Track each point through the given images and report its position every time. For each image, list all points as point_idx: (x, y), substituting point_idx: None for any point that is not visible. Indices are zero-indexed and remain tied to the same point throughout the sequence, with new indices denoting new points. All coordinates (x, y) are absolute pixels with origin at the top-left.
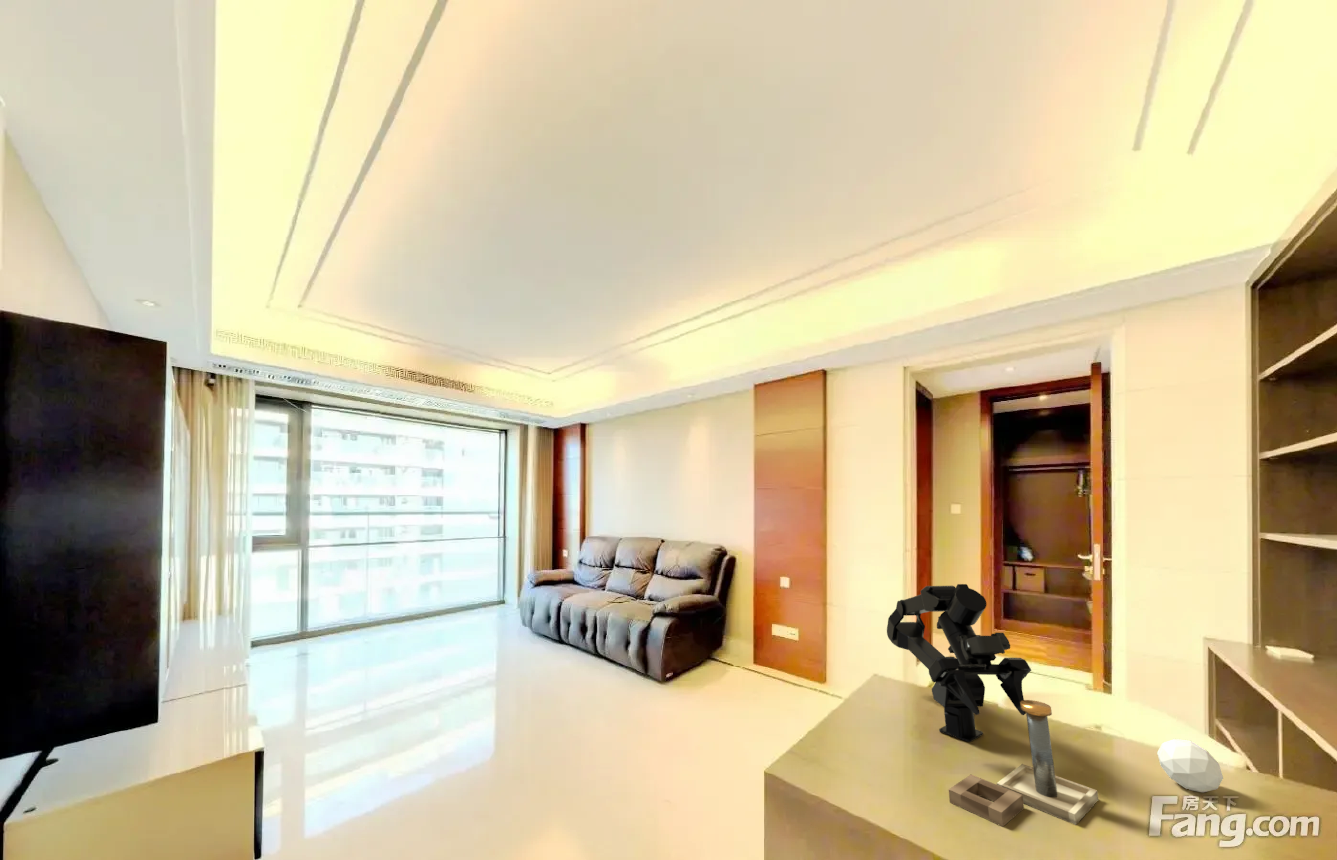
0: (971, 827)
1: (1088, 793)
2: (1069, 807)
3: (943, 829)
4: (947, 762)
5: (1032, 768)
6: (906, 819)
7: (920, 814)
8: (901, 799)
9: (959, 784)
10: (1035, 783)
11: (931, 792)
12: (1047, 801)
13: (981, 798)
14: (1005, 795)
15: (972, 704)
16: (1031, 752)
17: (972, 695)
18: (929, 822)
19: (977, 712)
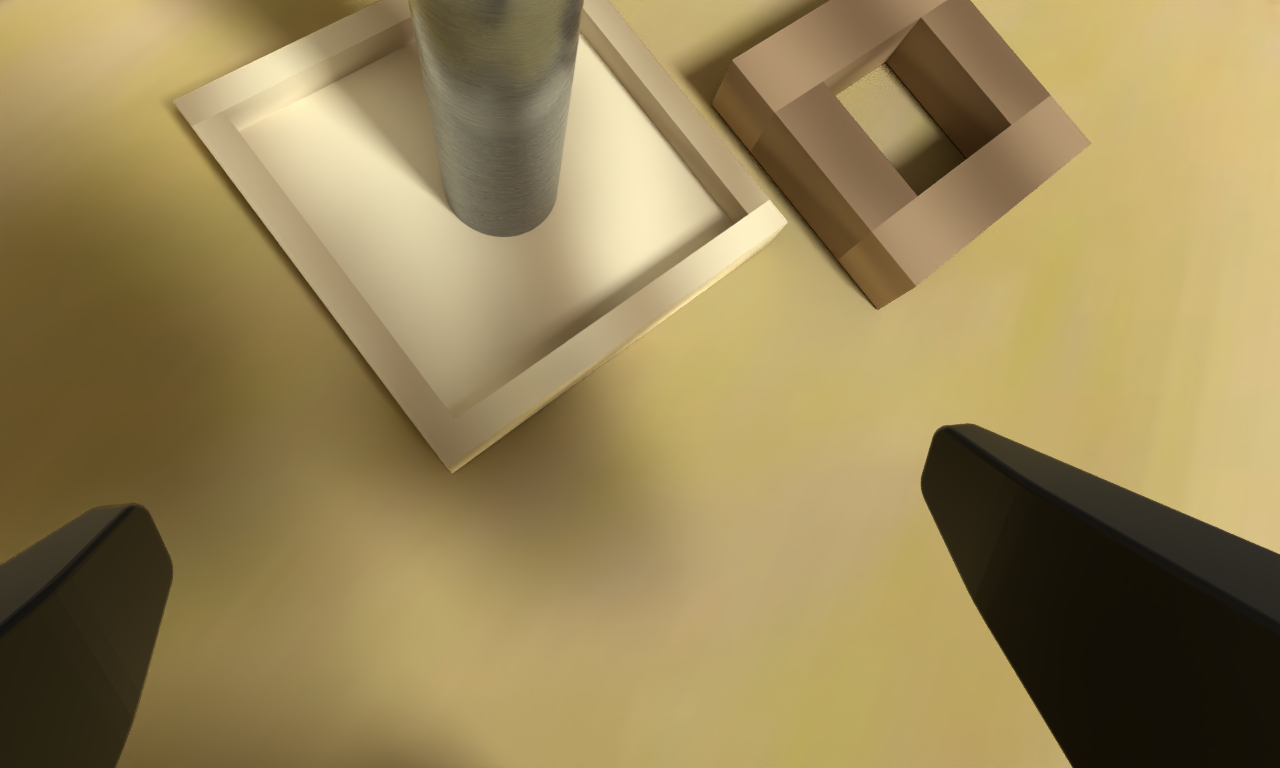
0: (1014, 9)
1: (273, 74)
2: None
3: (1123, 11)
4: (904, 612)
5: (418, 392)
6: (1241, 82)
7: (1184, 108)
8: (1238, 218)
9: (1023, 180)
10: (558, 178)
11: (1097, 268)
12: (608, 29)
13: (963, 52)
14: (828, 62)
15: (1084, 478)
16: (577, 46)
17: (1165, 565)
18: (1162, 56)
19: (969, 428)
